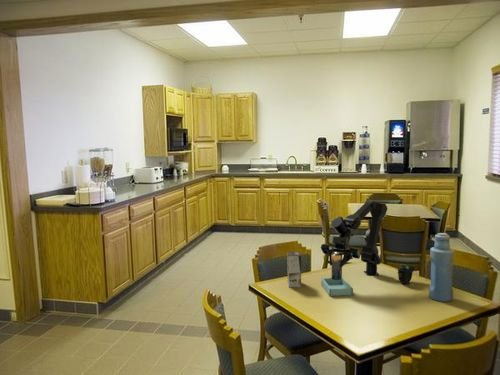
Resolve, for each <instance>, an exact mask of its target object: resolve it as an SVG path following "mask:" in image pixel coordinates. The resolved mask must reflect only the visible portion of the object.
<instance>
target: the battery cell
mask: <svg viewBox="0 0 500 375" xmlns="http://www.w3.org/2000/svg"><path fill="white" fill-rule="evenodd" d="M342 259H343V253H339V252H334V253H332V254H331V260H332V265H331V270H330V271H331V277H330V278H331V279H333V280H342V277H343V267H341V262H342Z"/></svg>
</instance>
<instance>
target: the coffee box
mask: <svg viewBox="0 0 500 375" xmlns="http://www.w3.org/2000/svg"><path fill="white" fill-rule="evenodd" d="M286 253H287V255H286V256H287V257H286V258H287V259H286V261H287V264H286V266H287V270H286V272H287V286H288V287H289V288H302V255H301V252H300V251H297V250H296V251H287V252H286Z"/></svg>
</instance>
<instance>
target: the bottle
mask: <svg viewBox="0 0 500 375" xmlns="http://www.w3.org/2000/svg"><path fill="white" fill-rule="evenodd" d="M434 239H435V240H434V244H433V246H432V247H431V248H430V249H429V252H430V253H429V254H430V255H429V257H430V284H429V288H428V289H429V291H428V296H429V298H430V299H432V301H435V302H442V303H447V302H448V303H449V302H452V301H453V300H454V290H453V272H454V271H453V270H454V269H453V266H454V262H455V260H454V259H455V250H454V249H453V248H451V244H450V243H451V242H450V239H451V236H450V235H449V234H448V233H445V232H438V233H436V234H435V235H434Z"/></svg>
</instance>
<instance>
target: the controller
mask: <svg viewBox="0 0 500 375" xmlns="http://www.w3.org/2000/svg"><path fill="white" fill-rule="evenodd" d="M415 270H416V267H415V266H414V265H409V264H408V265H406V264H401V265H400V267H399V268H397V274H398V275H397V276H398V281H399V282H400V283H402V284H405V285H406V284H409V283H410V282H411V280H412V278H413V273H414V271H415Z"/></svg>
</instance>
